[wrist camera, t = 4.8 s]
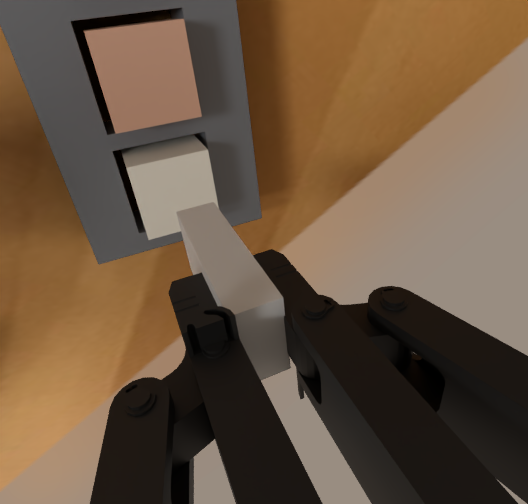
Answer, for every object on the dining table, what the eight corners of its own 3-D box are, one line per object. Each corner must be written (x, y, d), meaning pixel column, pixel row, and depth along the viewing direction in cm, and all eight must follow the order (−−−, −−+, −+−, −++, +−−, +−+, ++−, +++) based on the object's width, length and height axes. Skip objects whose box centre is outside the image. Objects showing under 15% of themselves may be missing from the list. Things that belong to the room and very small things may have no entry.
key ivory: (140, 213, 23) (148, 240, 20) (120, 147, 21) (126, 167, 18) (204, 196, 24) (220, 220, 21) (191, 132, 22) (207, 149, 19)
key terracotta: (110, 117, 20) (115, 133, 17) (83, 29, 18) (84, 31, 15) (185, 103, 21) (201, 116, 18) (168, 18, 19) (183, 18, 16)
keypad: (96, 239, 24) (98, 264, 22) (-180, -460, 11) (-257, -600, 9) (244, 199, 27) (261, 218, 25) (159, -404, 14) (177, -498, 11)
